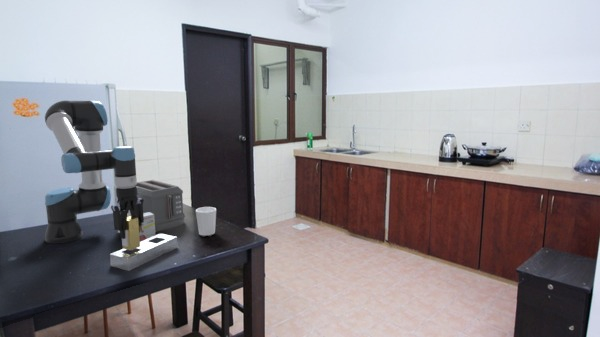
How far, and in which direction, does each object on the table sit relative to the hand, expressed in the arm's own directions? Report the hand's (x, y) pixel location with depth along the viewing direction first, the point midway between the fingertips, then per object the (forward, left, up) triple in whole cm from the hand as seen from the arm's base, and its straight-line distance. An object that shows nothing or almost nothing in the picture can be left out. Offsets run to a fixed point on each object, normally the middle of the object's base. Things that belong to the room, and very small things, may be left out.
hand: (131, 243), depth 148 cm
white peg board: (0, +7, -8) cm, 11 cm away
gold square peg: (0, 0, -2) cm, 2 cm away
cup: (+6, +39, -8) cm, 40 cm away
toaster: (-33, +43, -8) cm, 55 cm away
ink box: (-17, +22, -8) cm, 29 cm away
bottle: (-34, +26, -8) cm, 44 cm away
